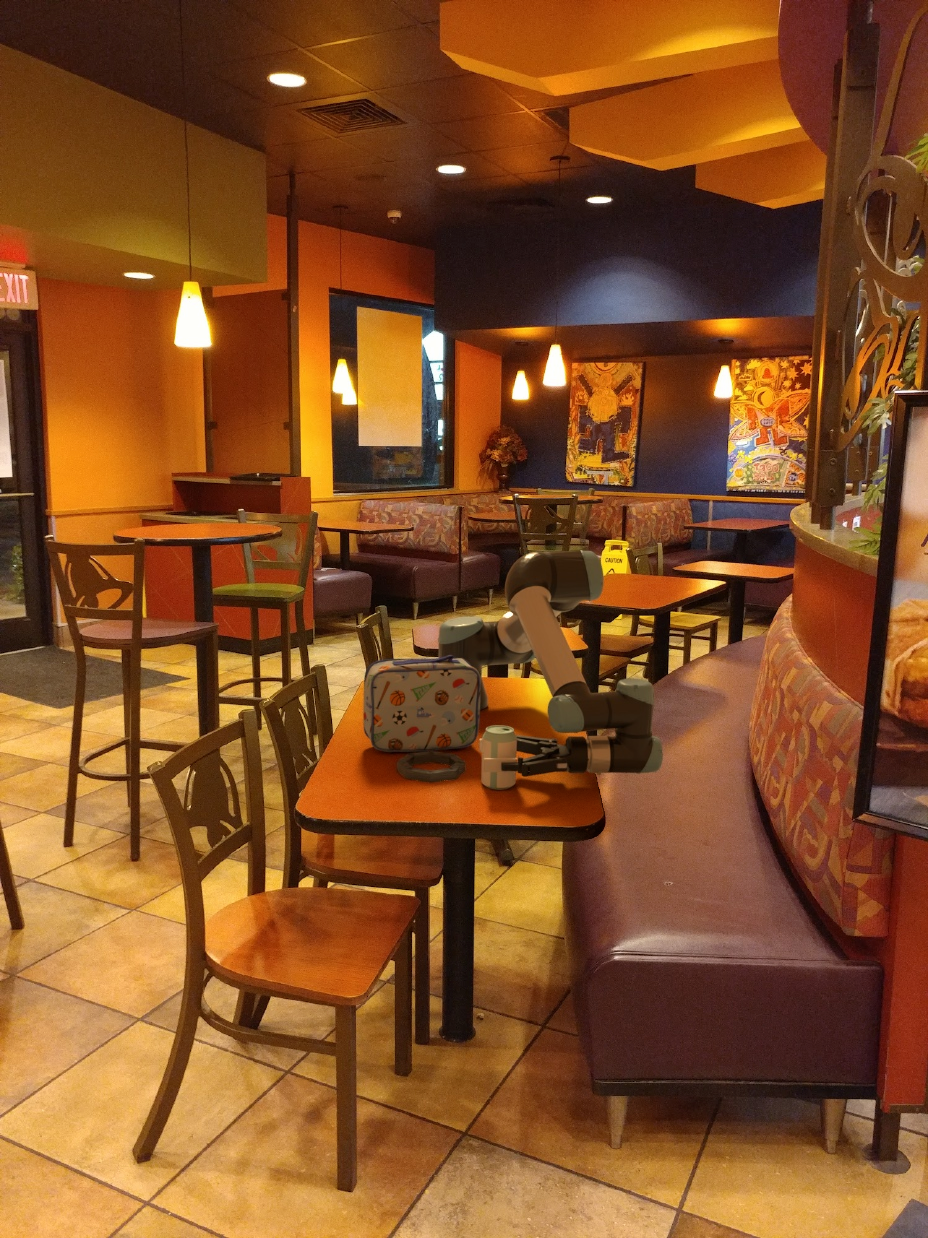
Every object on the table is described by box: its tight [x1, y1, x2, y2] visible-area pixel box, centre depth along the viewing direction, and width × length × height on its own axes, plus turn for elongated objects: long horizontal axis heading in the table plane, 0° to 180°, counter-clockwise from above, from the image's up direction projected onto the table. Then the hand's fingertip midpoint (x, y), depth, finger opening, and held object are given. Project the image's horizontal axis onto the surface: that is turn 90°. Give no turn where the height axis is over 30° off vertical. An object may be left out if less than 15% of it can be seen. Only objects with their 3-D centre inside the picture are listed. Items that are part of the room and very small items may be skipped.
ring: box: [396, 750, 466, 784], centre depth 206 cm, size 14×14×2 cm
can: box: [480, 724, 517, 791], centre depth 197 cm, size 7×7×12 cm
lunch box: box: [362, 655, 481, 753], centre depth 220 cm, size 28×10×22 cm, turn 105°
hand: (481, 754), depth 197 cm, fingers open, 12 cm apart
